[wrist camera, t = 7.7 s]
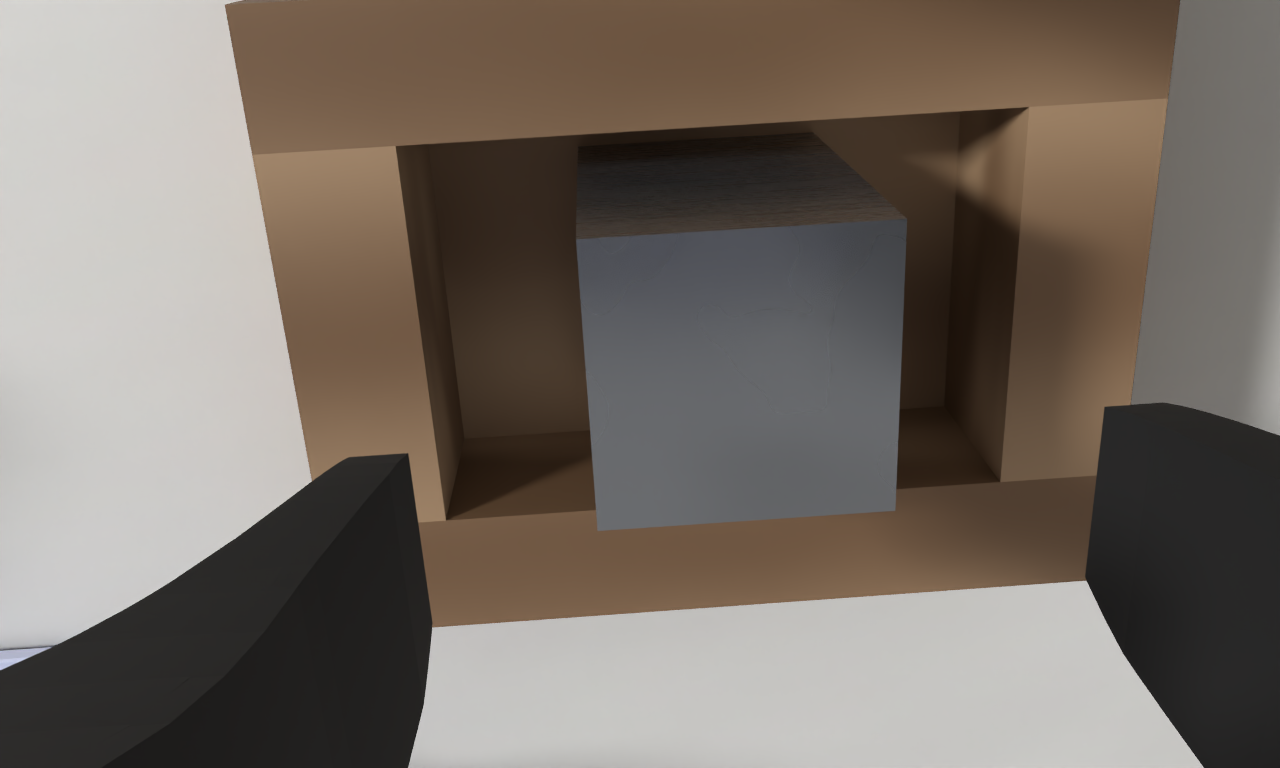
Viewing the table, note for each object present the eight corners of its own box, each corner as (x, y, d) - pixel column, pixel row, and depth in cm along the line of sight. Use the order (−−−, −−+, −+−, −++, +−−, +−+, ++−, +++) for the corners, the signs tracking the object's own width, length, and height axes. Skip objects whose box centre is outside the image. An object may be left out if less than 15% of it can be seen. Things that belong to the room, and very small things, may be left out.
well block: (1033, 483, 22) (1109, 578, 19) (375, 529, 22) (340, 634, 19) (1081, -57, 19) (1186, -52, 15) (287, -11, 18) (224, 4, 15)
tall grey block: (811, 352, 21) (895, 510, 15) (593, 366, 21) (597, 531, 15) (813, 132, 19) (906, 219, 14) (577, 146, 19) (575, 239, 14)
